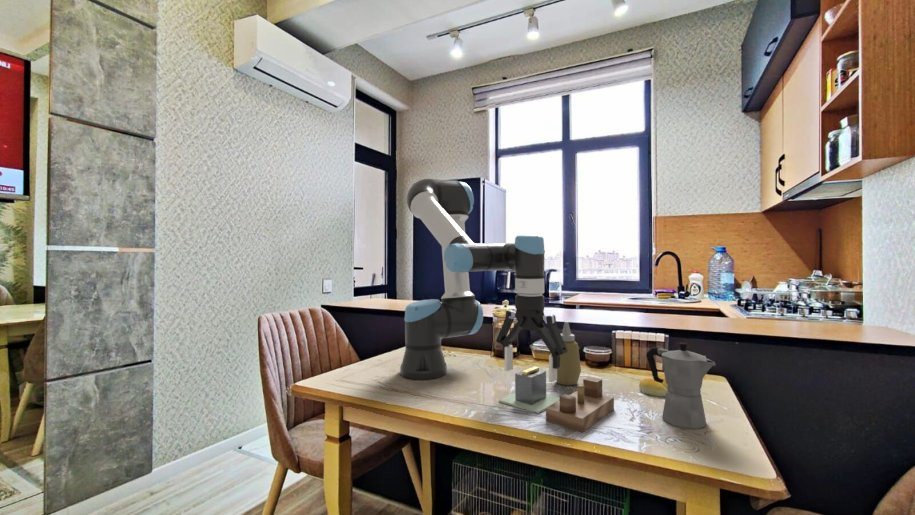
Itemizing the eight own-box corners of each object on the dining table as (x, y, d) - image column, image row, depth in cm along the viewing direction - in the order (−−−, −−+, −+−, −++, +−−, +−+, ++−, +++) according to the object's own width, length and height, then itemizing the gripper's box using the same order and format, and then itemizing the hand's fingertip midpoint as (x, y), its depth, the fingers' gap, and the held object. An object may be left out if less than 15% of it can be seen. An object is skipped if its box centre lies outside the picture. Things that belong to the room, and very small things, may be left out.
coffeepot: (724, 425, 91) (724, 344, 90) (704, 436, 85) (704, 351, 85) (657, 404, 103) (657, 333, 103) (636, 413, 98) (635, 338, 98)
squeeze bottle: (582, 387, 117) (581, 325, 116) (553, 386, 118) (552, 324, 118) (579, 379, 124) (579, 320, 124) (552, 377, 126) (552, 319, 126)
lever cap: (515, 400, 106) (515, 370, 106) (530, 393, 111) (529, 364, 111) (531, 405, 103) (531, 374, 103) (546, 397, 108) (546, 368, 108)
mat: (498, 401, 107) (498, 399, 107) (524, 389, 116) (524, 388, 116) (538, 413, 99) (538, 411, 99) (563, 400, 107) (563, 398, 107)
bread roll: (633, 388, 116) (633, 374, 116) (661, 386, 118) (661, 372, 118) (651, 398, 108) (651, 383, 108) (682, 396, 109) (682, 381, 109)
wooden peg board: (582, 432, 88) (582, 400, 88) (545, 421, 94) (545, 390, 94) (614, 409, 101) (613, 381, 101) (579, 400, 107) (579, 374, 107)
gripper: (483, 292, 112) (484, 368, 113) (566, 299, 95) (566, 389, 96) (500, 290, 118) (500, 363, 118) (581, 296, 101) (581, 381, 101)
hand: (530, 375), depth 107 cm, fingers open, 13 cm apart
